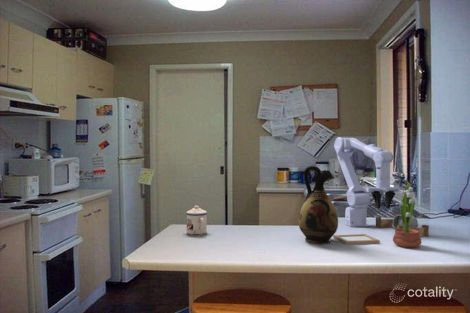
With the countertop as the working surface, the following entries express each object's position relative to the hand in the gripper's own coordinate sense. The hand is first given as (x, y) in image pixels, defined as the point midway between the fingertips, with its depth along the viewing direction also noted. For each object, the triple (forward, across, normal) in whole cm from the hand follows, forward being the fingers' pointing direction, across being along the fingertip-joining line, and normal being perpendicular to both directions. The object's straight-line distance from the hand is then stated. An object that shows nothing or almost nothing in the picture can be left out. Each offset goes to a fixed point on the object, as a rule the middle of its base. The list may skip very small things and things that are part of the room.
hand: (383, 208), depth 171 cm
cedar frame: (+10, +8, 0) cm, 13 cm away
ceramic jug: (+11, -35, -15) cm, 39 cm away
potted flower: (+11, -3, -26) cm, 28 cm away
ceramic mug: (+11, +10, +1) cm, 15 cm away
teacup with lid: (+10, -82, +2) cm, 83 cm away
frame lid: (+10, -19, -16) cm, 27 cm away
